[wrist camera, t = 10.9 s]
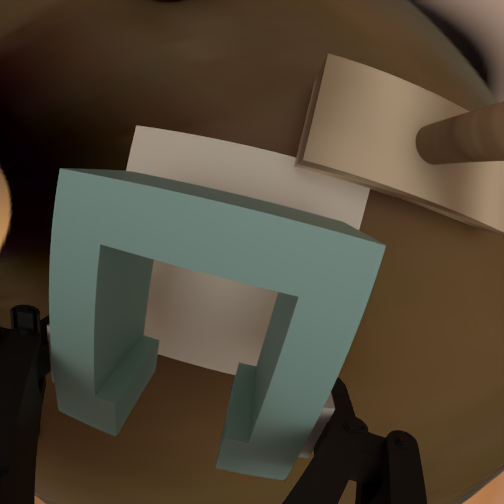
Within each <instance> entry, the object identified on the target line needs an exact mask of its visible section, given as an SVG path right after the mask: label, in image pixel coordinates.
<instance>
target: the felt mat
mask: <svg viewBox="0 0 504 504" xmlns="http://www.w3.org/2000/svg"><path fill="white" fill-rule="evenodd" d="M295 161H296V158H295V157H292V156H288V155H284V154H280V153H276V152H272V151H268V150H264V149H259V148H255V147H251V146H246V145H242V144H237V143H233V142H228V141H223V140H218V139H213V138H208V137H203V136H198V135H192V134H187V133H181V132H175V131H169V130H163V129H157V128H150V127H143V126H136V130H135V134H134V138H133V142H132V146H131V151H130V155H129V160H128V164H127V169H126V171H132V172H137V173H143V174H148V175H152V176H157V177H162V178H167V179H172V180H176V181H181V182H186V183H190V184H195V185H199V186H204V187H208V188H213V189H217V190H221V191H226V192H230V193H234V194H238V195H243V196H247V197H251V198H255V199H259V200H263V201H267V202H271V203H275V204H279V205H283V206H287V207H290V208H294V209H298V210H302V211H306V212H309V213H313V214H317V215H320V216H324V217H328V218H331V219H335V220H338V221H342V222H345V223H346V224H348V225H350V226H352V227H354V228H356V229H357V230H359V228H360V225H361V221H362V218H363V214H364V210H365V206H366V203H367V199H368V195H369V191H370V188H367V187H364V186H360V185H357V184H354V183H351V182H348V181H344V180H341V179H338V178H334V177H331V176H327V175H324V174H320V173H317V172H313V171H309V170H306V169H302V168H298V167H295V166H294V165H295ZM277 295H278V292H277V291H273V290H269V289H265V288H260V287H256V286H252V285H248V284H245V283H241V282H237V281H233V280H229V279H225V278H221V277H217V276H213V275H210V274H206V273H202V272H198V271H194V270H191V269H187V268H183V267H179V266H176V265H172V264H168V263H165V262H161V261H157V260H154V262H153V268H152V275H151V281H150V288H149V296H148V303H147V311H146V319H145V328H144V335H145V336H148V337H151V338H154V339H157V340H159V348H158V354H160V355H163V356H166V357H169V358H173V359H176V360H179V361H183V362H186V363H190V364H193V365H197V366H201V367H204V368H208V369H212V370H216V371H220V372H224V373H228V374H232V375H236V372H237V368H238V364H239V362H240V363H244V364H248V365H253V366H256V365H257V362H258V359H259V356H260V352H261V349H262V346H263V342H264V339H265V336H266V332H267V329H268V326H269V322H270V319H271V315H272V312H273V308H274V305H275V302H276V298H277Z"/></svg>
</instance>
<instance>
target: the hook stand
mask: <svg viewBox="0 0 504 504" xmlns="http://www.w3.org/2000/svg"><path fill="white" fill-rule="evenodd" d="M294 166H295V167H298V168H302V169H306V170H309V171H313V172H317V173H320V174H324V175H327V176H331V177H334V178H338V179H341V180H344V181H348V182H351V183H354V184H357V185H360V186H364V187H367V188H370V189H372V190H375V191H378V192H381V193H384V194H387V195H390V196H393V197H396V198H399V199H402V200H404V201H407V202H410V203H413V204H416V205H418V206H421V207H424V208H427V209H429V210H432V211H435V212H437V213H440V214H443V215H445V216H448V217H450V218H453V219H455V220H458V221H460V222H463V223H465V224H468V225H470V226H472V227H475V228H478V229H481V230H485V231H488V232H492V233H495V234H499V235H502V236H504V102H501V103H497V104H494V105H490V106H487V107H483V108H480V109H477V110H473V111H470V112H469V111H467V110H466V109H464V108H462V107H460V106H458V105H456V104H454V103H452V102H450V101H448V100H446V99H444V98H442V97H440V96H438V95H436V94H434V93H432V92H430V91H428V90H426V89H423V88H421V87H419V86H417V85H415V84H412V83H410V82H408V81H405V80H403V79H400V78H398V77H395V76H393V75H390V74H388V73H385V72H383V71H380V70H377V69H375V68H372V67H369V66H366V65H363V64H360V63H357V62H354V61H351V60H348V59H345V58H342V57H339V56H335V55H332V54H329V53H328V54H327V57H326V59H325V61H324V63H323V65H322V68H321V70H320V72H319V74H318V77H317V79H316V81H315V83H314V85H313V89H312V94H311V98H310V102H309V106H308V110H307V115H306V119H305V123H304V127H303V131H302V135H301V139H300V143H299V147H298V152H297V156H296V161H295V165H294Z"/></svg>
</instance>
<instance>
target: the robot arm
mask: <svg viewBox="0 0 504 504" xmlns="http://www.w3.org/2000/svg"><path fill="white" fill-rule="evenodd" d="M10 315H11V326H12V329H7V328H3V327H0V504H34V493H35V468H36V454H37V443H38V434H39V425H40V418H41V410H42V404H43V398H44V392H45V386H46V379H45V375H47V374H48V373H49V372H50V371H51V379H52V382H54V375H53V365H52V354H51V341H50V321H49V316H47V317H45V318H44V319H42V320H41V321H40V312H39V310H38V309H37V308H35V307H34V306H30V305H17V306H15V307H13V308H12V309H11V310H10ZM313 450H314V457H313V459H312V460H311V462H310V464H309V465H308V467H307V468H306V470H305V471H304V473H303V474H302V476H301V477H300V479H299V480H298V482H297V483H296V485H295V486H294V488H293V489H292V491H291V492H290V493H289V495H288V496H287V498H286V499H285V501H284V502H283V503H282V504H338V502H339V500H340V497H341V495H342V493H343V491H344V489H345V487H346V485H347V483H348V480H353V481H356V482H357V487H356V500H355V504H427V498H426V491H425V484H424V477H423V471H422V465H421V459H420V454H419V448H418V444H417V441H416V439H415V438H414V437H413V436H412V435H410V434H409V433H407V432H404V431H399V430H395V431H391V432H390V433H389V434H388V435H387V437H386V438H385V437H381V436H378V435H375V434H372V433H369V432H368V427H367V425H366V424H365V423H364V422H363V421H362V420H360V419H359V418H357V417H356V416H355V413H354V410H353V407H352V404H351V401H350V397H349V394H348V391H347V388H346V385H345V384H344V383H343V382H342V380H341V379H340V378H337V379H336V381H335V384H334V386H333V388H332V390H331V392H330V395H329V397H328V399H327V401H326V403H325V405H324V407H323V409H322V411H321V413H320V416H319V418H318V420H317V422H316V424H315V426H314V428H313V430H312V431H311V433H310V435H309V437H308V439H307V441H306V443H305V445H304V447H303V449H302V450H301V452H300V454H299V456H298V457H300V458H309V457H310V455H311V453H312V451H313Z"/></svg>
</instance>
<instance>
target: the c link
mask: <svg viewBox="0 0 504 504" xmlns="http://www.w3.org/2000/svg"><path fill="white" fill-rule="evenodd" d="M385 247H386V246H385V245H384V244H382V243H380V242H379V241H377V240H375V239H373V238H372V237H370V236H368V235H366V234H364V233H363V232H361V231H359V230H357V229H356V228H354V227H352V226H350V225H348V224H346V223H345V222H342V221H338V220H335V219H331V218H328V217H324V216H320V215H317V214H313V213H309V212H306V211H302V210H298V209H294V208H290V207H287V206H283V205H279V204H275V203H271V202H267V201H263V200H259V199H255V198H251V197H247V196H243V195H238V194H234V193H230V192H226V191H221V190H217V189H213V188H208V187H204V186H199V185H195V184H190V183H186V182H181V181H176V180H172V179H167V178H162V177H157V176H152V175H148V174H143V173H137V172H132V171H119V170H97V169H64V168H60V171H59V177H58V184H57V190H56V198H55V205H54V214H53V224H52V235H51V248H50V269H49V321H50V341H51V354H52V365H53V375H54V383H55V391H56V398H57V404H58V410H59V411H60V412H62V413H64V414H66V415H68V416H70V417H72V418H74V419H76V420H79V421H81V422H83V423H85V424H87V425H89V426H92V427H94V428H96V429H98V430H101V431H103V432H105V433H108V434H110V435H113V436H115V437H116V436H117V434H118V433H119V431H120V429H121V428H122V426H123V424H124V423H125V421H126V419H127V417H128V416H129V414H130V412H131V411H132V409H133V407H134V406H135V404H136V402H137V401H138V399H139V397H140V396H141V394H142V392H143V391H144V389H145V387H146V386H147V384H148V382H149V381H150V379H151V377H152V376H153V374H154V372H155V371H156V364H157V356H158V348H159V340H157V339H154V338H151V337H148V336H145V335H144V328H145V319H146V311H147V303H148V296H149V288H150V281H151V275H152V268H153V262H154V260H157V261H161V262H165V263H168V264H172V265H176V266H179V267H183V268H187V269H191V270H194V271H198V272H202V273H206V274H210V275H213V276H217V277H221V278H225V279H229V280H233V281H237V282H241V283H245V284H248V285H252V286H256V287H260V288H265V289H269V290H273V291H277V292H278V295H277V298H276V302H275V305H274V308H273V312H272V315H271V319H270V322H269V326H268V329H267V332H266V336H265V339H264V342H263V346H262V349H261V352H260V356H259V359H258V362H257V365H256V366H253V365H248V364H244V363H240V362H239V364H238V368H237V372H236V375H235V379H234V383H233V386H232V390H231V394H230V399H229V404H228V408H227V413H226V418H225V423H224V428H223V433H222V437H221V442H220V447H219V452H218V457H217V461H216V466H215V468H218V469H222V470H227V471H232V472H237V473H242V474H247V475H253V476H259V477H265V478H272V479H279V480H285V479H286V477H287V475H288V474H289V472H290V470H291V469H292V467H293V465H294V463H295V461H296V460H297V458H298V456H299V454H300V452H301V450H302V449H303V447H304V445H305V443H306V441H307V439H308V437H309V435H310V433H311V431H312V430H313V428H314V426H315V424H316V422H317V420H318V418H319V416H320V413H321V411H322V409H323V407H324V405H325V403H326V401H327V399H328V397H329V395H330V392H331V390H332V388H333V386H334V384H335V381H336V379H337V377H338V375H339V372H340V370H341V368H342V365H343V363H344V361H345V358H346V356H347V354H348V351H349V349H350V346H351V344H352V341H353V339H354V336H355V334H356V331H357V329H358V326H359V323H360V321H361V318H362V316H363V313H364V310H365V307H366V305H367V302H368V299H369V296H370V293H371V290H372V288H373V285H374V282H375V279H376V276H377V273H378V270H379V266H380V263H381V260H382V257H383V254H384V251H385Z"/></svg>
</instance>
